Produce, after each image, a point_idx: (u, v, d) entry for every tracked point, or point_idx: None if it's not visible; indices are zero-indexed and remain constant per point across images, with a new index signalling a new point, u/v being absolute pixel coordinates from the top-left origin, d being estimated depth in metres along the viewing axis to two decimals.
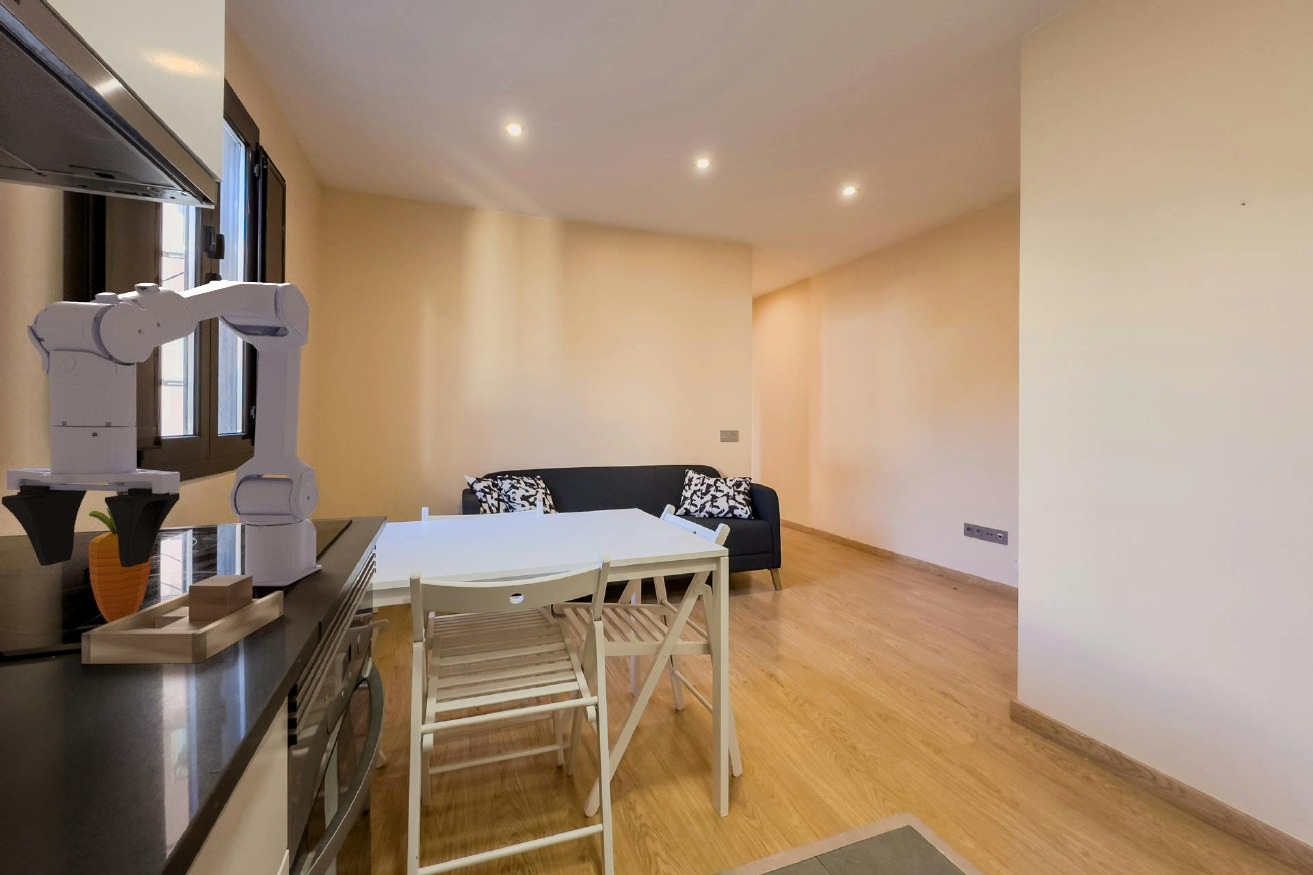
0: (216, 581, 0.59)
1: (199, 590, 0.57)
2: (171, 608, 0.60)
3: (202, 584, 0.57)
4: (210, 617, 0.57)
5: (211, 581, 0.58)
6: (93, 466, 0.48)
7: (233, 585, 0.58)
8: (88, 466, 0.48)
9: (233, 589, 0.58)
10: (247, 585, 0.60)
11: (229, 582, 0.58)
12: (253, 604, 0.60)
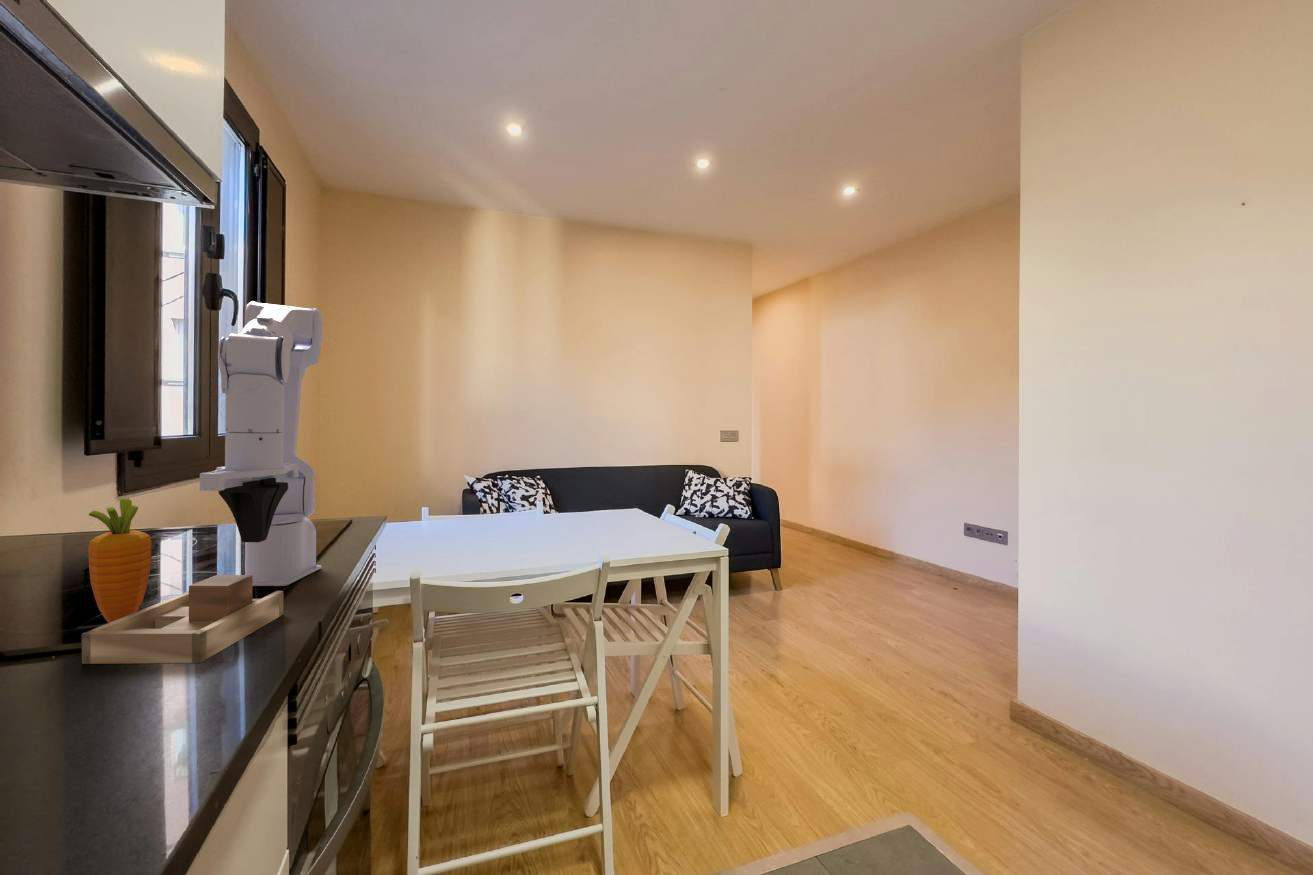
0: (216, 581, 0.59)
1: (199, 590, 0.57)
2: (171, 608, 0.60)
3: (202, 584, 0.57)
4: (210, 617, 0.57)
5: (211, 581, 0.58)
6: (225, 463, 0.62)
7: (233, 585, 0.58)
8: (225, 462, 0.62)
9: (233, 589, 0.58)
10: (247, 585, 0.60)
11: (229, 582, 0.58)
12: (253, 604, 0.60)
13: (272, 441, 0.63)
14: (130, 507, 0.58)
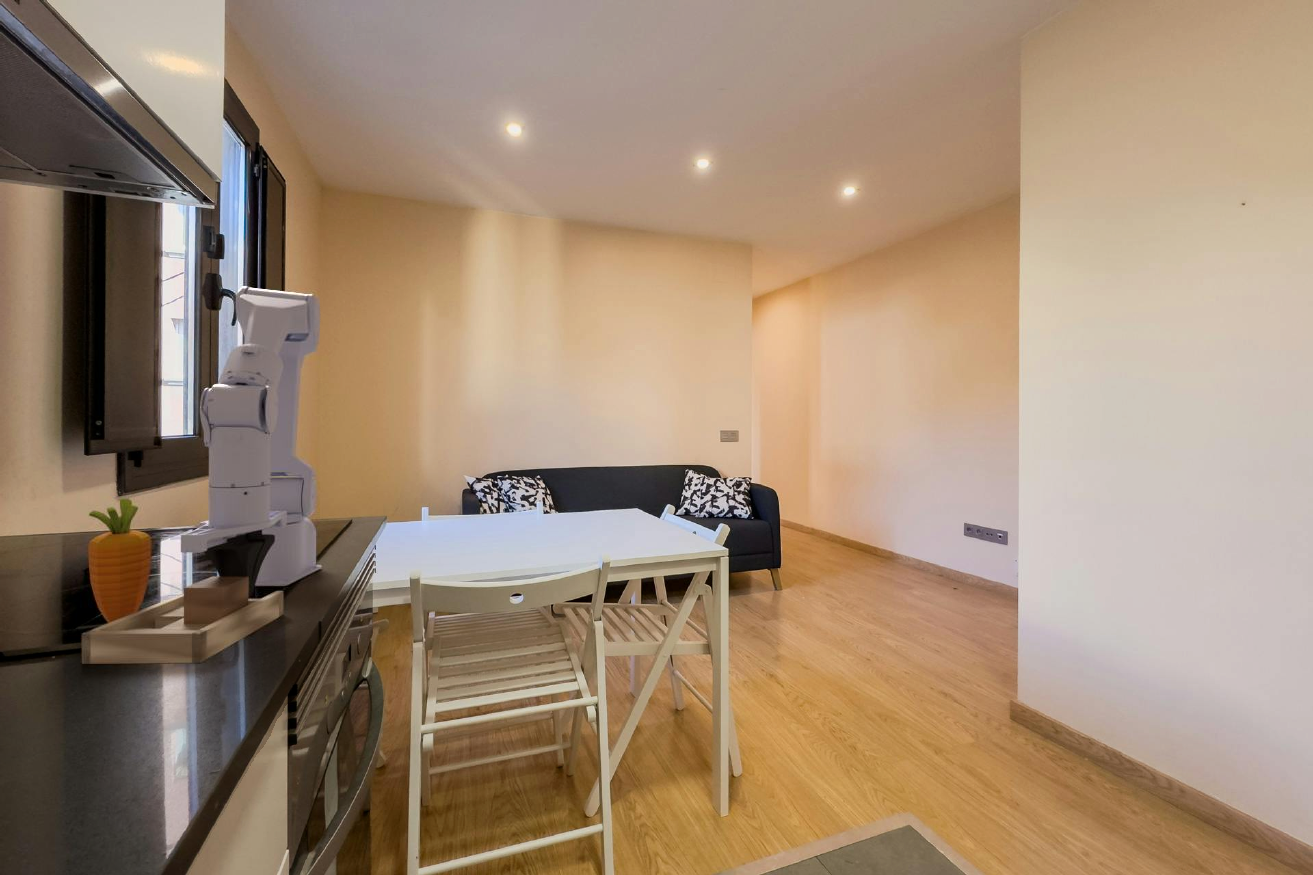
0: (211, 583, 0.58)
1: (194, 592, 0.56)
2: (171, 608, 0.60)
3: (197, 586, 0.57)
4: (205, 619, 0.57)
5: (206, 583, 0.58)
6: None
7: (229, 587, 0.58)
8: None
9: (228, 591, 0.57)
10: (243, 586, 0.60)
11: (225, 584, 0.58)
12: (253, 604, 0.60)
13: (258, 495, 0.61)
14: (130, 507, 0.58)
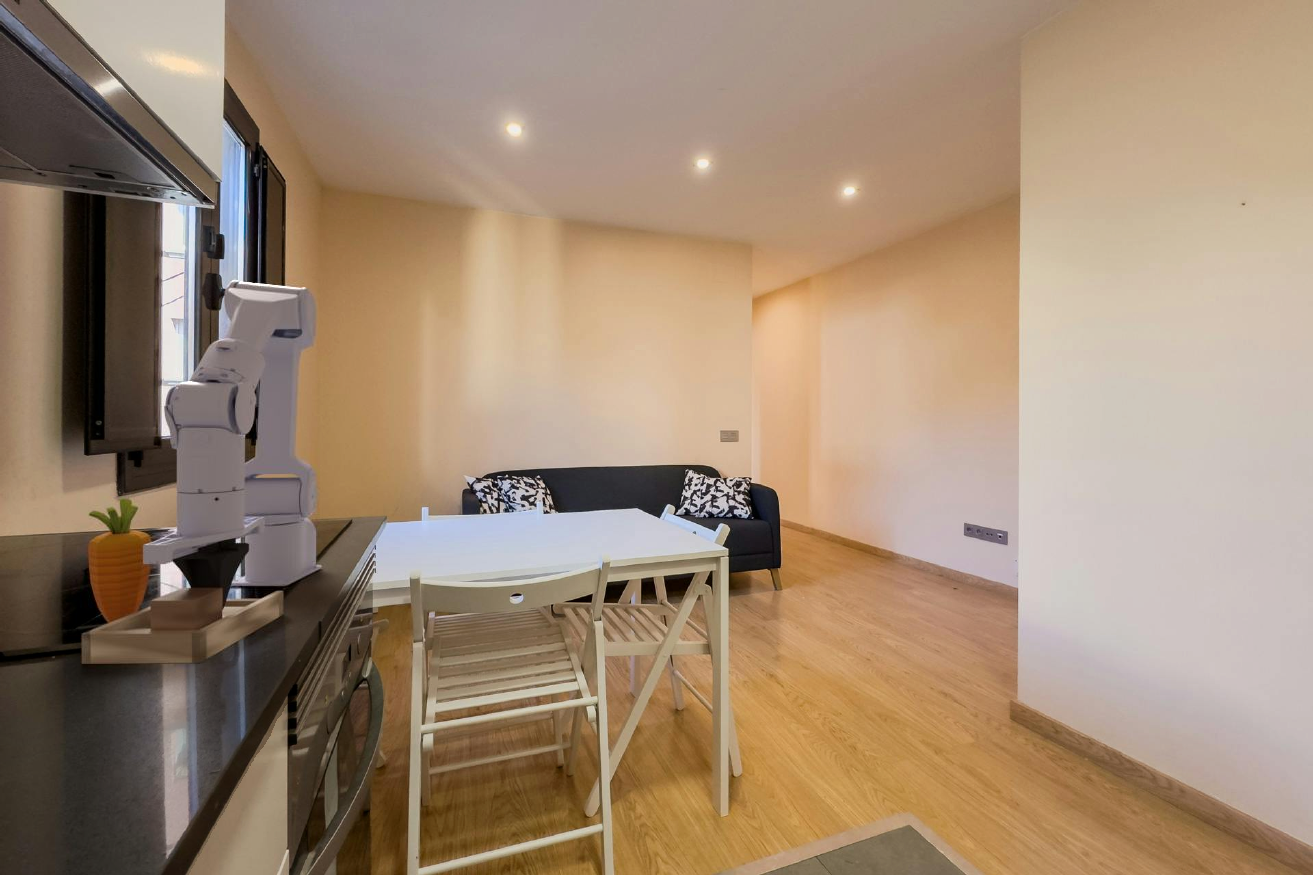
0: (181, 595, 0.54)
1: (162, 605, 0.52)
2: None
3: (165, 599, 0.53)
4: None
5: (176, 595, 0.54)
6: (177, 526, 0.55)
7: (200, 600, 0.54)
8: None
9: (199, 603, 0.53)
10: (217, 598, 0.56)
11: (195, 596, 0.54)
12: (253, 604, 0.60)
13: (230, 500, 0.56)
14: (130, 507, 0.58)
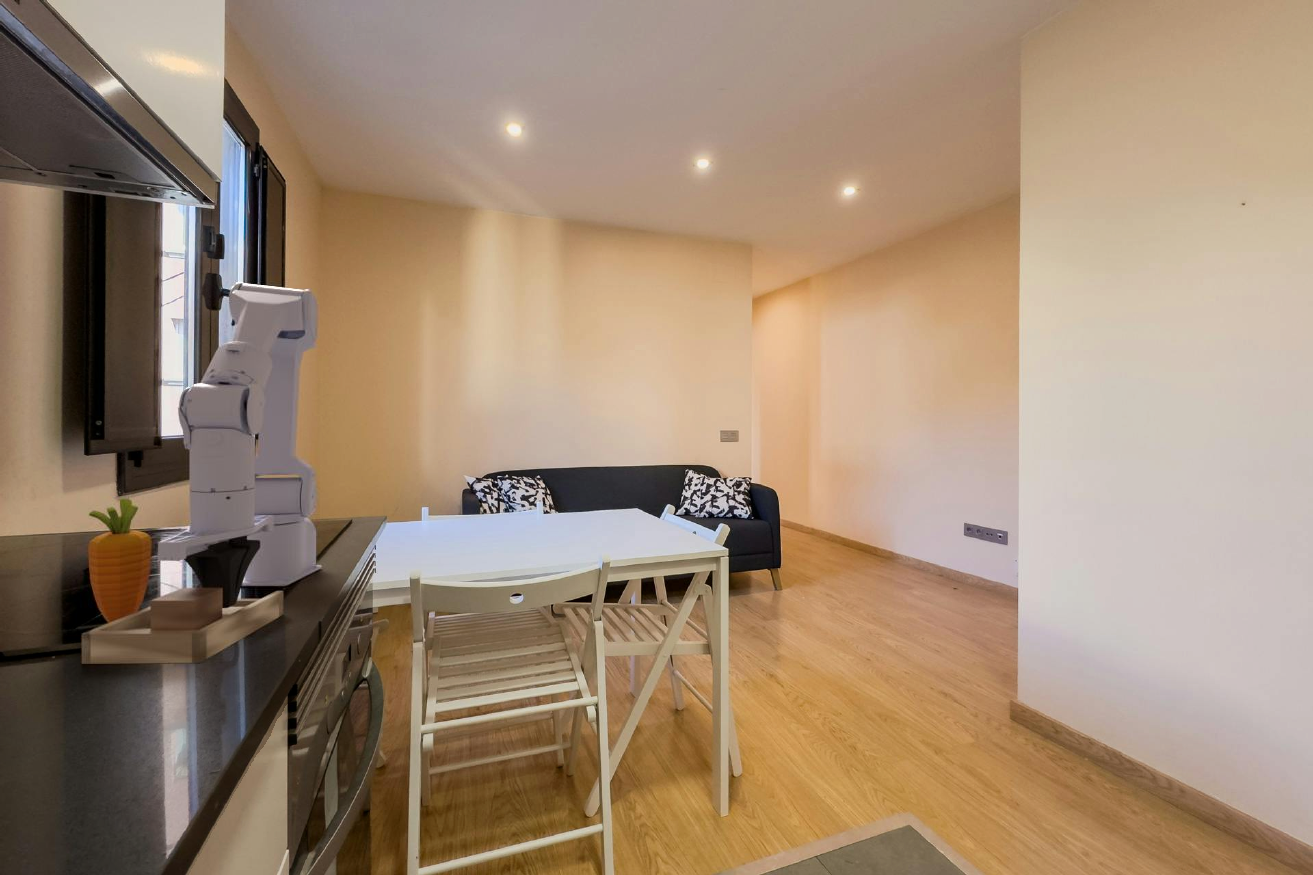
0: (181, 595, 0.54)
1: (162, 605, 0.52)
2: None
3: (165, 599, 0.53)
4: None
5: (176, 595, 0.54)
6: None
7: (200, 600, 0.54)
8: None
9: (199, 603, 0.53)
10: (217, 598, 0.56)
11: (196, 596, 0.54)
12: (253, 604, 0.60)
13: (241, 499, 0.58)
14: (130, 507, 0.58)
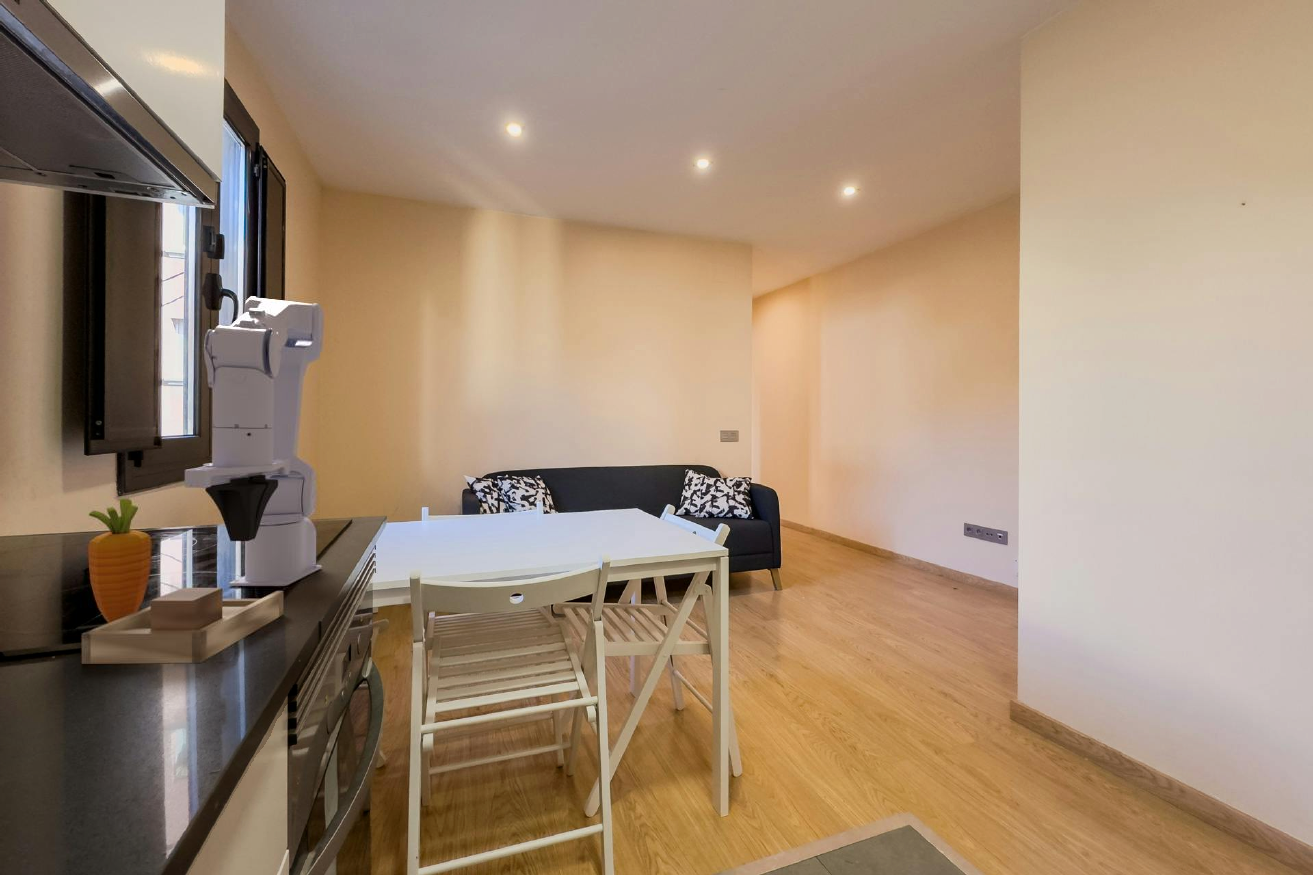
0: (181, 595, 0.54)
1: (162, 605, 0.52)
2: None
3: (165, 599, 0.53)
4: None
5: (176, 595, 0.54)
6: (212, 459, 0.60)
7: (200, 600, 0.54)
8: (212, 459, 0.60)
9: (199, 603, 0.53)
10: (217, 598, 0.56)
11: (196, 596, 0.54)
12: (253, 604, 0.60)
13: (261, 437, 0.61)
14: (130, 507, 0.58)
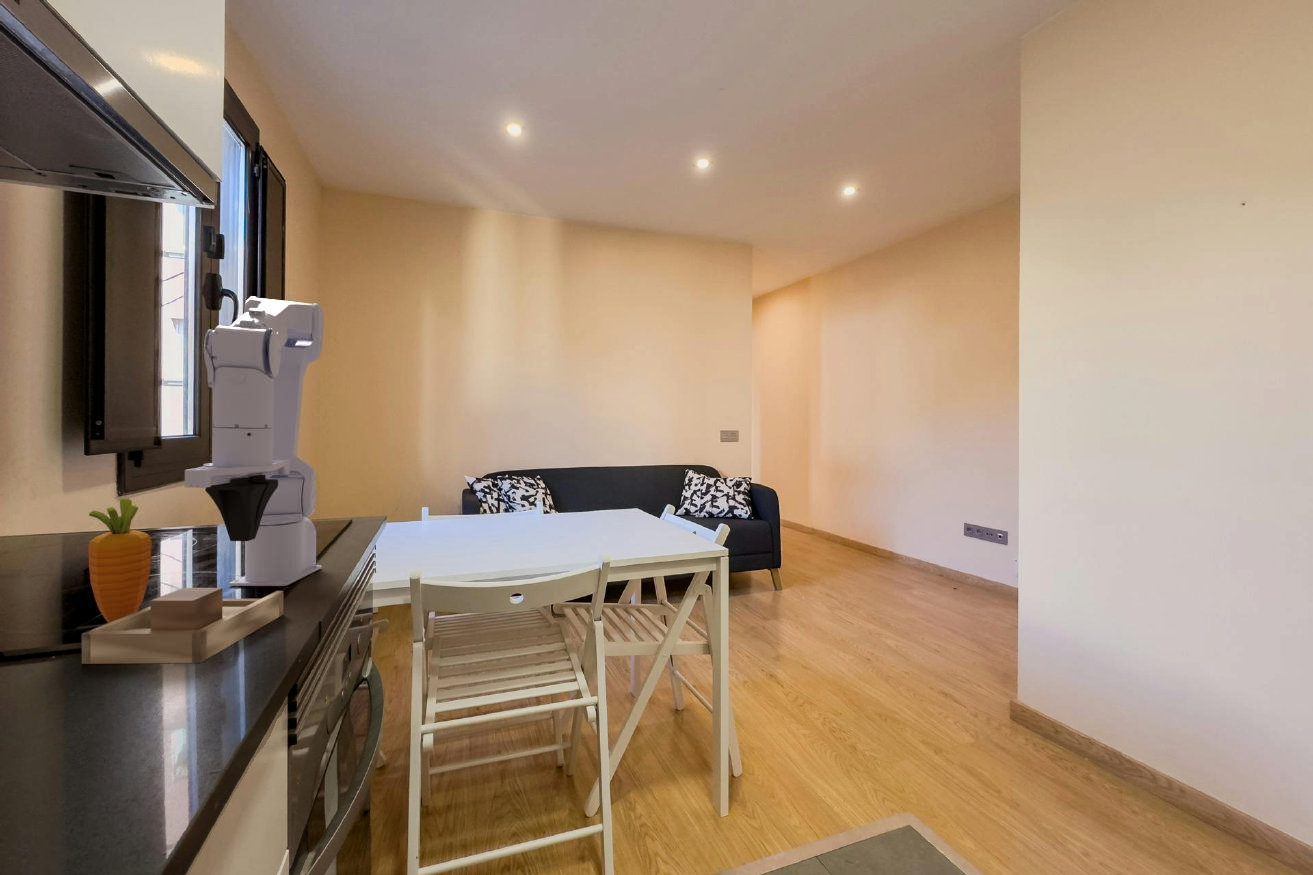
0: (181, 595, 0.54)
1: (162, 605, 0.52)
2: None
3: (165, 599, 0.53)
4: None
5: (176, 595, 0.54)
6: (212, 459, 0.60)
7: (200, 600, 0.54)
8: (212, 459, 0.60)
9: (199, 603, 0.53)
10: (217, 598, 0.56)
11: (196, 596, 0.54)
12: (253, 604, 0.60)
13: (261, 437, 0.61)
14: (130, 507, 0.58)
